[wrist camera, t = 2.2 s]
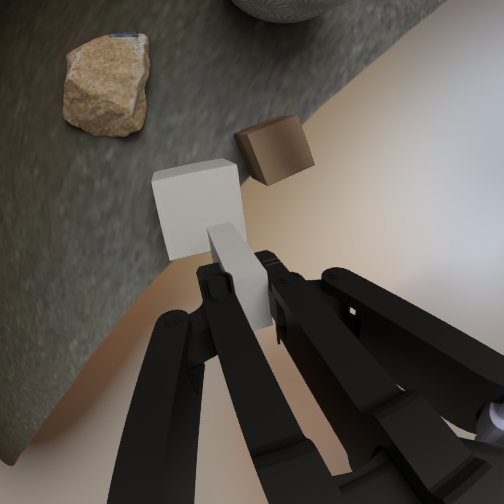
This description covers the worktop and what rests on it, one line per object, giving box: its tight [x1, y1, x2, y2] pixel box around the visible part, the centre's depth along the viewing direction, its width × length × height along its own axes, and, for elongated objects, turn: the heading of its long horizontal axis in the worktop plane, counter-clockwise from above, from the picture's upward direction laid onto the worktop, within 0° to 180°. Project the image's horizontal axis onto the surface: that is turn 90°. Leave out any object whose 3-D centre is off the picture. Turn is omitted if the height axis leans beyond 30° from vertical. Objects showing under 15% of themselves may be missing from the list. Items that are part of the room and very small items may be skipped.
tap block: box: [151, 158, 247, 261], centre depth 26 cm, size 7×7×6 cm
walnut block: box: [234, 115, 315, 186], centre depth 27 cm, size 5×5×5 cm
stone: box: [63, 31, 151, 137], centre depth 20 cm, size 8×10×4 cm
